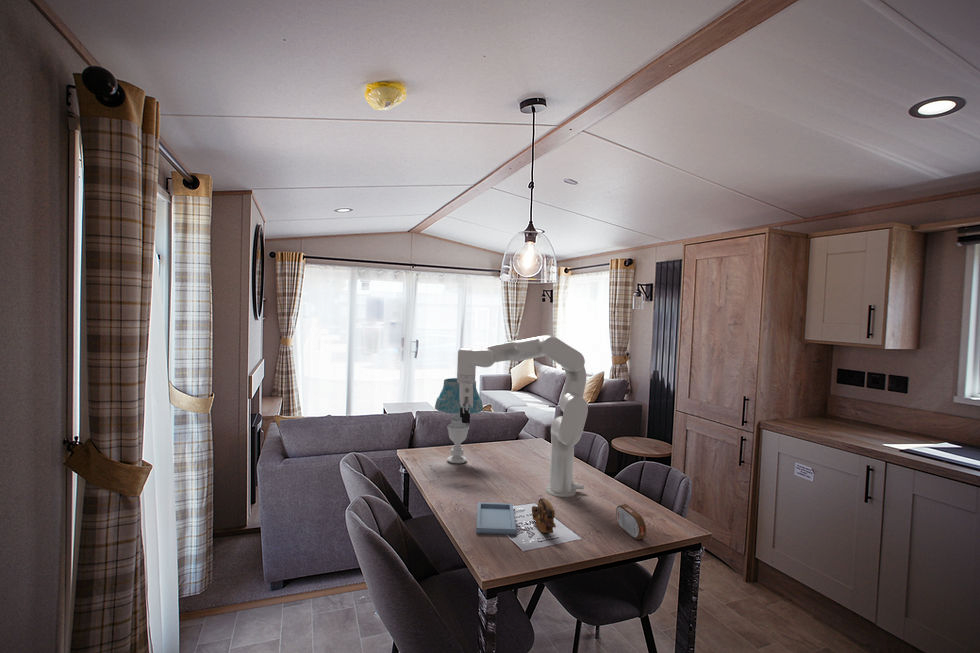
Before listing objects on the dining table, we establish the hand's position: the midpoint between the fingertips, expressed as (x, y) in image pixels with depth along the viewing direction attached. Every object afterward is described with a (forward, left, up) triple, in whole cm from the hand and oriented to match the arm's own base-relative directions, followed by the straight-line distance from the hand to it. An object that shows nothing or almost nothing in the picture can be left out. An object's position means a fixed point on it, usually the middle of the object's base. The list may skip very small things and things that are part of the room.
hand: (464, 420), depth 190 cm
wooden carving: (-29, +32, -30) cm, 53 cm away
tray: (-13, +26, -29) cm, 41 cm away
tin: (-59, +32, -30) cm, 74 cm away
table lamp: (+5, -40, -30) cm, 50 cm away
